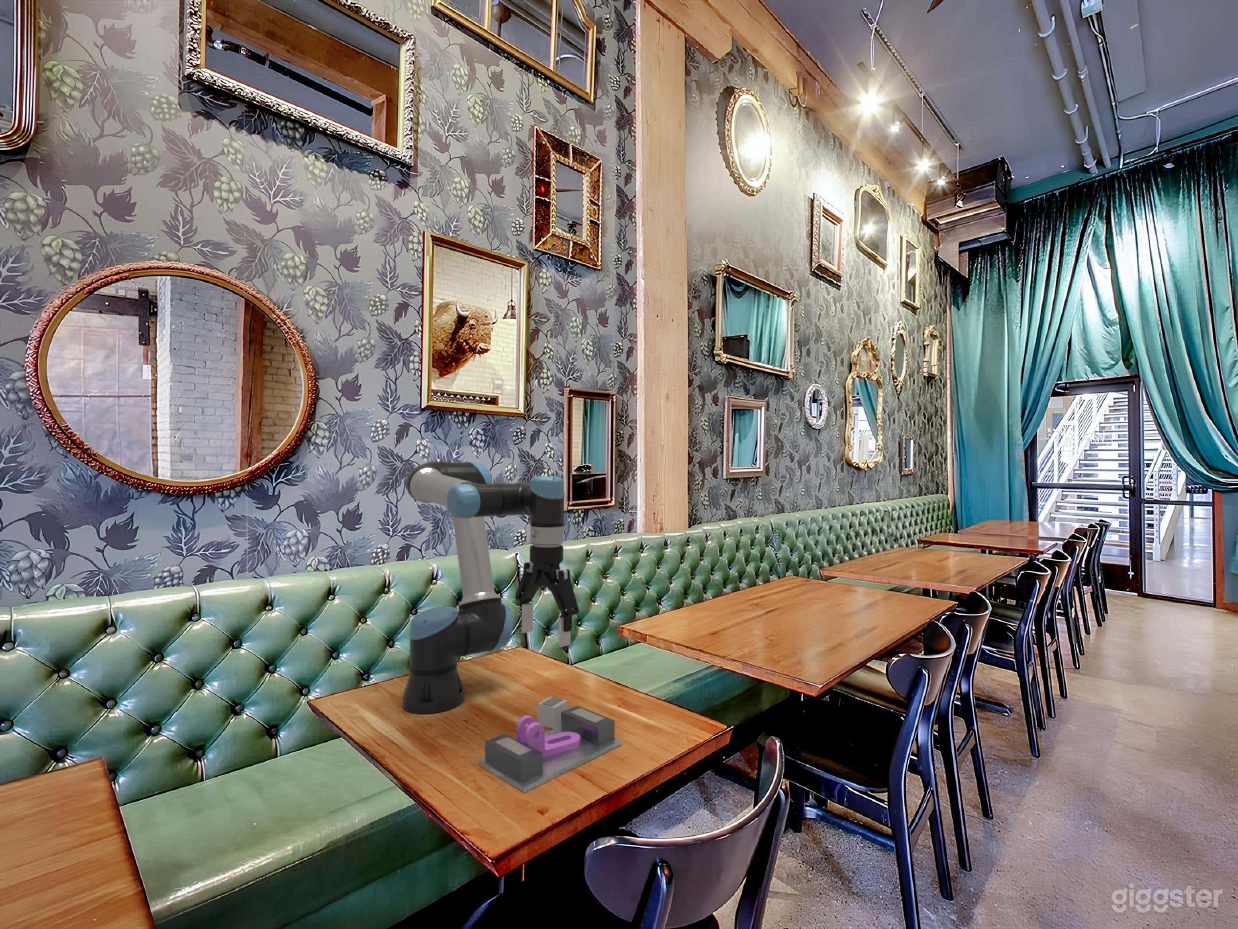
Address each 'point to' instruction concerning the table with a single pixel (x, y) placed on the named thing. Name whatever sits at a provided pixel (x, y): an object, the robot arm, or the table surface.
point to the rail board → (532, 770)
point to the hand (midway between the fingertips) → (545, 638)
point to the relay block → (551, 712)
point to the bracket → (545, 738)
